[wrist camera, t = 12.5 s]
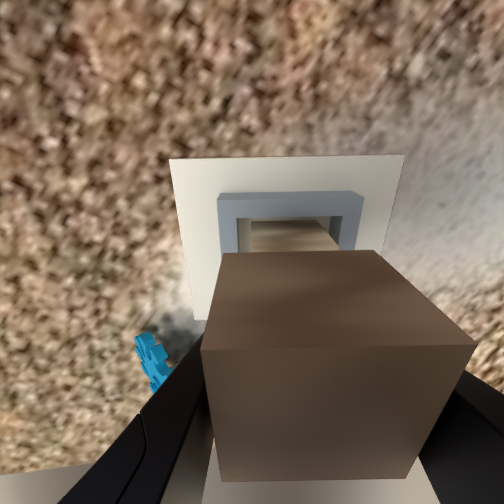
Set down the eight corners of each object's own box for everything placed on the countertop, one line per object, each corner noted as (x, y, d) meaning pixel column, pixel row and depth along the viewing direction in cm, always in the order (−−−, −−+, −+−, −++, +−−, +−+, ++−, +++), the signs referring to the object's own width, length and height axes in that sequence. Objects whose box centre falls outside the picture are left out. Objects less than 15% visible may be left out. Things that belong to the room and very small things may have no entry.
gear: (119, 317, 21) (180, 412, 15) (180, 289, 24) (246, 357, 19) (137, 383, 27) (185, 467, 21) (184, 352, 31) (234, 417, 25)
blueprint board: (398, 154, 17) (427, 157, 14) (361, 311, 23) (377, 334, 20) (172, 158, 17) (157, 162, 14) (196, 314, 23) (188, 338, 20)
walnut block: (373, 249, 8) (478, 344, 4) (349, 356, 10) (405, 478, 6) (223, 252, 8) (200, 350, 4) (231, 358, 10) (221, 482, 6)
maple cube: (316, 219, 18) (339, 247, 13) (310, 276, 20) (328, 316, 16) (250, 221, 18) (251, 249, 13) (252, 277, 20) (252, 317, 16)
